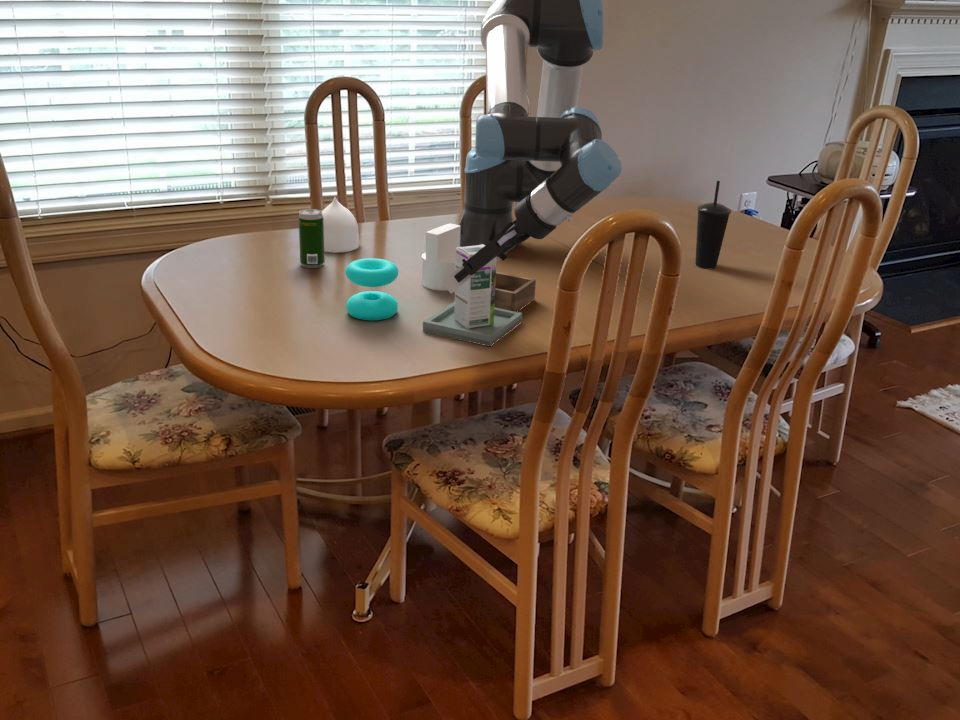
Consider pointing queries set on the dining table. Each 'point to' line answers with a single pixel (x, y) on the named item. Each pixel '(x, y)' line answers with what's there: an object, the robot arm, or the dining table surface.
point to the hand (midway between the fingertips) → (459, 280)
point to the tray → (486, 335)
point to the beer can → (311, 238)
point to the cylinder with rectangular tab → (439, 255)
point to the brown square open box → (513, 291)
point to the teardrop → (339, 229)
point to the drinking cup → (710, 231)
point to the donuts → (372, 302)
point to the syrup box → (475, 292)
